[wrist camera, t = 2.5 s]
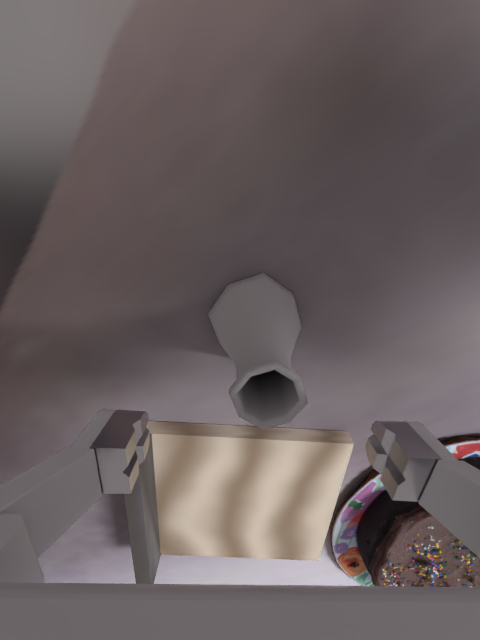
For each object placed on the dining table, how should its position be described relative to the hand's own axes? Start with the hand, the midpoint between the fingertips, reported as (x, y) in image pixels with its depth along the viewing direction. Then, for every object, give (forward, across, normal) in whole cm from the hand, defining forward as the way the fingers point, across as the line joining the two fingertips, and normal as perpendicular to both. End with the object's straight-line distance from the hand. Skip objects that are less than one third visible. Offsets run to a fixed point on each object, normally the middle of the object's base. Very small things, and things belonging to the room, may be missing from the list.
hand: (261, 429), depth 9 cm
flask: (+12, -1, 0) cm, 12 cm away
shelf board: (+12, -1, +20) cm, 23 cm away
